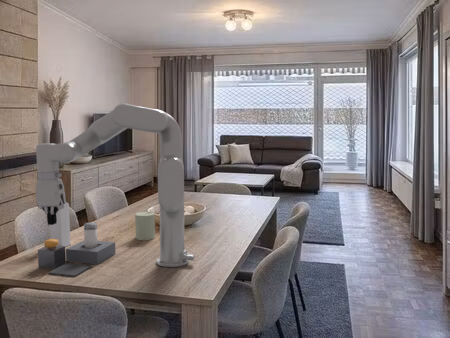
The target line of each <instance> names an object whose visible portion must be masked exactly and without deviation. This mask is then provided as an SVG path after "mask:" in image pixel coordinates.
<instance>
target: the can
mask: <svg viewBox="0 0 450 338" xmlns="http://www.w3.org/2000/svg"><path fill="white" fill-rule="evenodd" d="M134 215H135V217H134V219H135V220H134V221H135V236H134V237H135V239H136V240H139V241H150V240H153V239H156V234H155V233H156V229H155V228H156V227H155V226H156V225H155V222H156V220H155V212H153V211H140V212H139V211H138V212H136V213H135V214H134Z"/></svg>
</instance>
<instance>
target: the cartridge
mask: <svg viewBox="0 0 450 338" xmlns="http://www.w3.org/2000/svg"><path fill="white" fill-rule="evenodd" d="M83 235H84V240H83V241H85V248H96V247H98V244H97V241H98V223H97V222H93V221H92V222H86V223H83Z"/></svg>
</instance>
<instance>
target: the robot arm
mask: <svg viewBox="0 0 450 338" xmlns="http://www.w3.org/2000/svg"><path fill="white" fill-rule="evenodd" d="M128 129H130V130H136V131H143V132H147V133H153V134H158V137H159V163H158V167H157V201H158V204H159V255H160V256H159V257H158V258H157V259H156V261H155V263H156V264H157V265H158V266H160V267H164V268H178V267H183V266H185V265H188V263H189V261H192V262H193V261H195V256H194V254H193V253H188V250H187V249H185V166H184V161H183V160H184V159H183V138H182V137H183V136H182V131H181V128H180V126H179V123H178V122H177V121H176V119H175V118H174V117H173V116H172V115H170V114H169V113H167V112H165V111H163V110H160V109H156V108H150V107H143V106H137V105H134V104H130V103H126V102H125V103H120V104H118V105H116V106H115V107H114V108H113V110H111V111H110V112H108V113H107V114H104V115H103V116H102V117H100V118H98V119H97V120H95V121H93V122H92V123H91V124H90V125H89V127H88V128H87V129H85V131H83V132H82V133H80V134H78V135H77V136H75V137H74V138H72V139H71V140H69V141H66V142H62V143H54V142H51V143H50V142H48V143H46V142H45V143H39V144H37V145H36V147H35V153H36V155H35V156H36V165H37V166H36V168H37V180H36V186H35V197H36V205H37V208H38V209H41V210H43V211H44V213H45V215H46V220H47V221H46V222H47V225H48V226H50V225H53V224H56V223H57V218H56V213H57V212H58V211H59V210H60V209H64V204H65V203H66V202H67V200H66V192H65V186H64V183H63V180H62V175H63V174H62V173H60V163H61V164H62V163H63V164H68V163H71V162H74V161H76V160H78V159H81V158H82V157H83V156H85V155H87V154H88V153H90V152H91V151H93V150H94V149H96V148H97V147H99V146H101V145H104V144H105V143H107V142H108V141H110V140H111V139H113V138H114V137H116V136H117V135H119V134H121V133H122V132H124V131H127V130H128ZM58 206H59V207H58Z"/></svg>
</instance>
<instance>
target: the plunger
mask: <svg viewBox="0 0 450 338" xmlns="http://www.w3.org/2000/svg"><path fill="white" fill-rule="evenodd" d="M43 245H44V246H43V247H47V248H50V249H54V247H56V246H58V239H50V238H49V239H45V240H44V243H43Z"/></svg>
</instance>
